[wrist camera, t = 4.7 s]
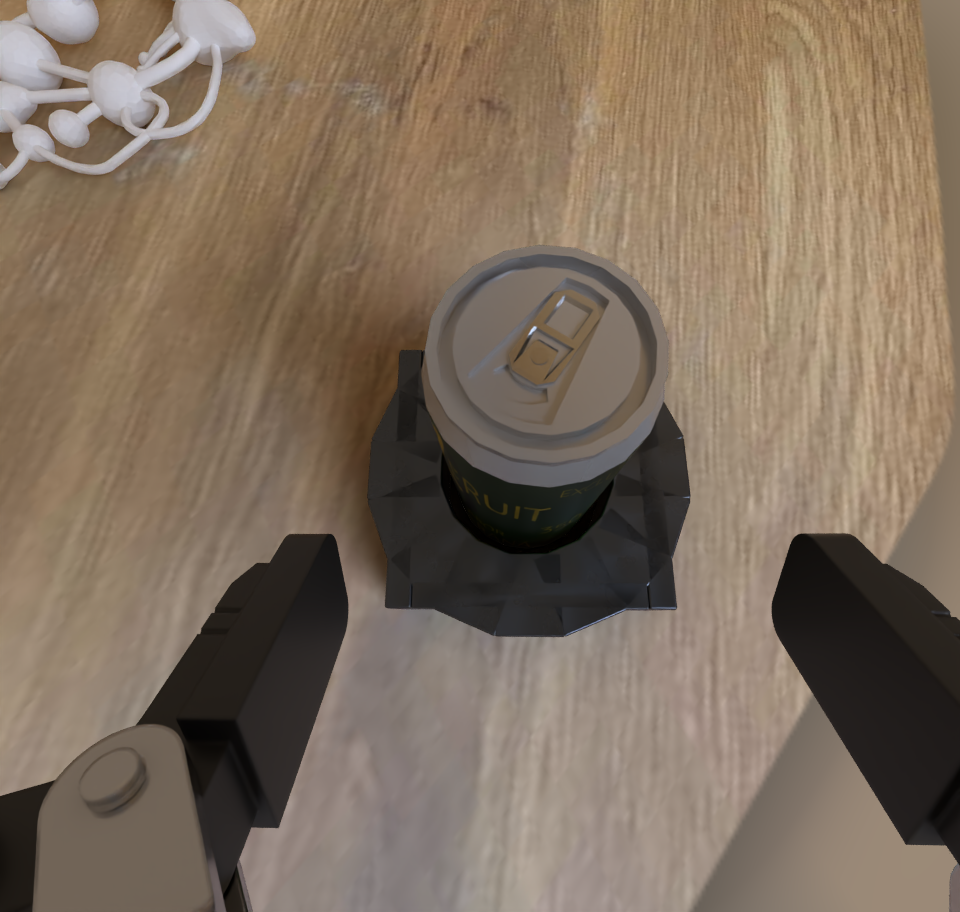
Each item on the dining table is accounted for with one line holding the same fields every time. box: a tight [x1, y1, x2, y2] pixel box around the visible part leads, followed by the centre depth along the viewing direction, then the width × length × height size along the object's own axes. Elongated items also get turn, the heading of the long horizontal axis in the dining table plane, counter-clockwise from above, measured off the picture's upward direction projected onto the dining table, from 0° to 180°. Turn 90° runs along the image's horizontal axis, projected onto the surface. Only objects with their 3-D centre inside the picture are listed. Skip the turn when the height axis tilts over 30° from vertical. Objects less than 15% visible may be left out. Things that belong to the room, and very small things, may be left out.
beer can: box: [421, 245, 669, 549], centre depth 16 cm, size 5×5×12 cm
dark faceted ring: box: [367, 350, 691, 637], centre depth 20 cm, size 12×12×3 cm
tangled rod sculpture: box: [0, 0, 256, 189], centre depth 28 cm, size 19×14×4 cm
